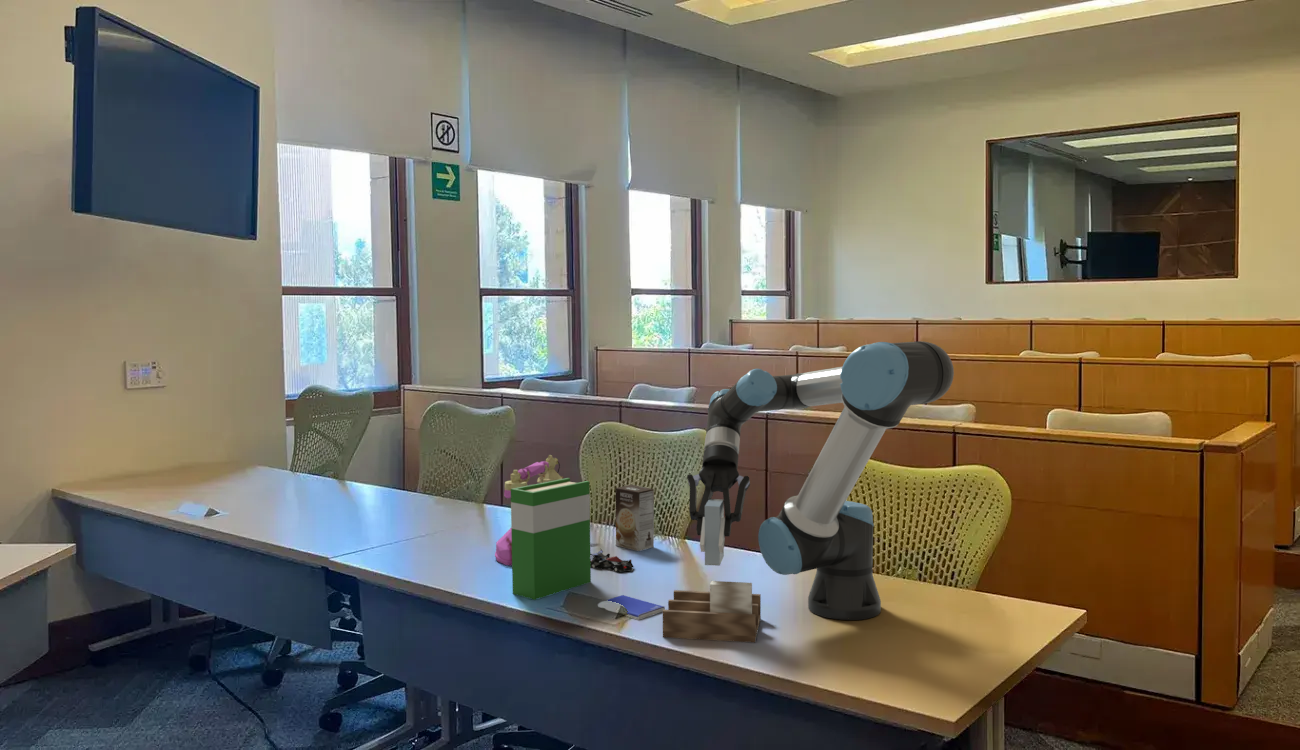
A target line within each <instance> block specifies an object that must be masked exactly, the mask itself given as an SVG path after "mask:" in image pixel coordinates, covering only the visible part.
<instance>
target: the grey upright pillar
mask: <svg viewBox="0 0 1300 750" xmlns="http://www.w3.org/2000/svg"><path fill="white" fill-rule="evenodd" d="M721 517H722V518H725V510H724V499H723V498H722V499H721V498H720V499H717V498H714V499H713V498H711V499H709V500H708V502H707V503H706V505H705V552H704V565H705V566H717V567H719V566H721V563H722V561H723V559H724V556H725V555H724V552H723V553H720V551H719V535H720V525H721Z"/></svg>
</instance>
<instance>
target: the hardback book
mask: <svg viewBox="0 0 1300 750" xmlns="http://www.w3.org/2000/svg"><path fill="white" fill-rule="evenodd" d="M590 487H591V486H590V481H588V480H585V481H580V482H574V481H573V482H572V481H571V478H570V477H566V478H564V479H559V480H554V481H549V482H544V483H539V482H538V483H536V484H535V483H534V484H529V485H528V484H527V486H523V487H518V488H513V489H511V498H510V517H511V519H510V523H511V524H510V528H511V532H512V567H511V570H512V571H511V574H512V575H511V576H512V577H511V578H512V582H511V583H512V594H513V595H517V596H520V597H523V598H525V599H526V598H527V599H528V600H534V601H536V600H539V599H542V598H545V597H546V598H547V597H548V596H553V595H556V594H557V593H561V592H565V591H567V590H570V589H574V588H577V587H581V586H584V585H586V584H591V582H592V579H591V578H592V576H591V575H592V574H591V572H592V568H591V555H590V553H591V508H590V507H591V503H590V502H591V499H590V498H591V497H590Z"/></svg>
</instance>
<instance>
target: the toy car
mask: <svg viewBox="0 0 1300 750" xmlns="http://www.w3.org/2000/svg"><path fill="white" fill-rule="evenodd" d="M603 553H604V551H603V549H602V548H600V550H599V551H597V552H594V553H592V552H590V556H592V560H591V569H599V570H604V571H612V572H615V573H621V572H634V568H635V566H634V565H633V563H632V558H631V559H628V560H626V559H625V560H624V559H623V560H622V559H621V558H620V557H618V556H617V555H616V556H611V553H607V554H603Z"/></svg>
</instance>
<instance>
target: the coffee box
mask: <svg viewBox="0 0 1300 750" xmlns="http://www.w3.org/2000/svg"><path fill="white" fill-rule="evenodd" d="M654 489H655V488H650V487H644V486H640V485H635V484H628V485H623V486H619V487H615V546H616V547H621V548H624V549H627V550H631V551H637V552H641V551H645V550H649V549H652V548H655V545H654V543H655V542H654V541H655V539H654V538H655V537H654V534H655V533H654V529H655V527H654V523H655V522H654V521H655V520H654V519H655V515H654V514H655V508H654V507H655V506H654V505H655V504H654V502H655V501H654V500H655V499H654V497H655V493H654V492H655V490H654Z"/></svg>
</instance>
